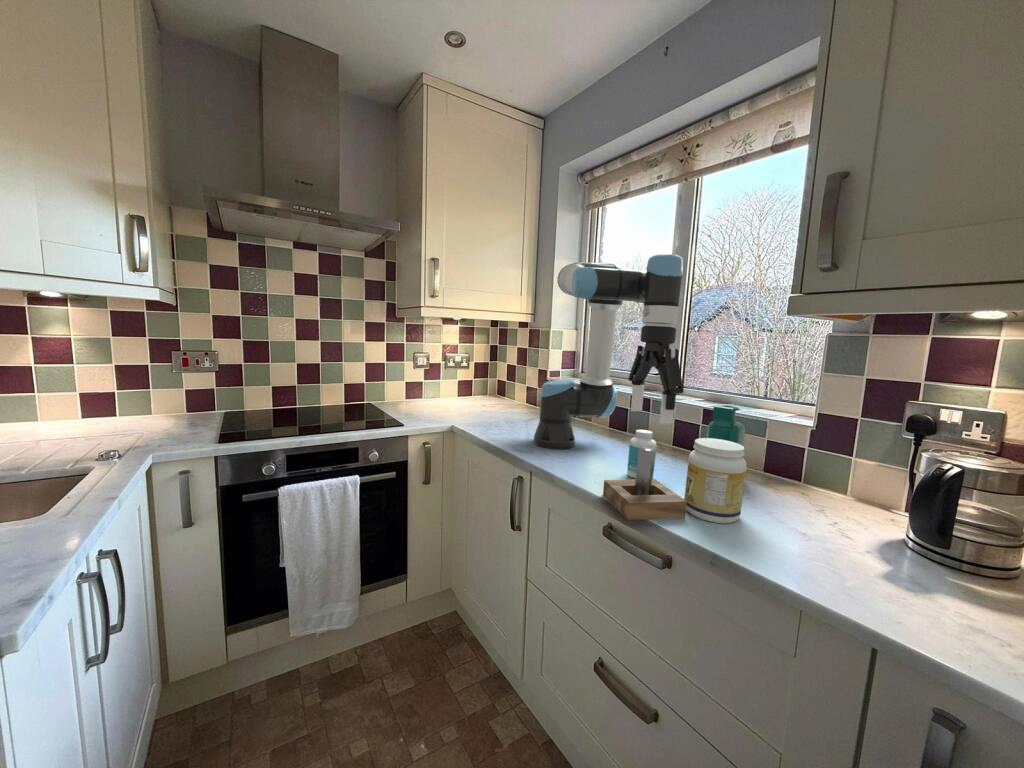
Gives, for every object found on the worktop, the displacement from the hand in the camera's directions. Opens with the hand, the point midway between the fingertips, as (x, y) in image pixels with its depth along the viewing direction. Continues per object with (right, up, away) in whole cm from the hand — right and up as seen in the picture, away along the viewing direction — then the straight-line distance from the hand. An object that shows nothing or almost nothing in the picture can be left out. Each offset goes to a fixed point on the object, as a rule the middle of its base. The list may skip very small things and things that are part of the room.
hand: (649, 417), depth 97 cm
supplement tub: (+14, -23, 0) cm, 27 cm away
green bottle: (+29, -21, +25) cm, 44 cm away
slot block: (-1, -22, +3) cm, 22 cm away
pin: (-1, -22, +3) cm, 22 cm away
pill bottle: (+5, -19, +24) cm, 31 cm away
